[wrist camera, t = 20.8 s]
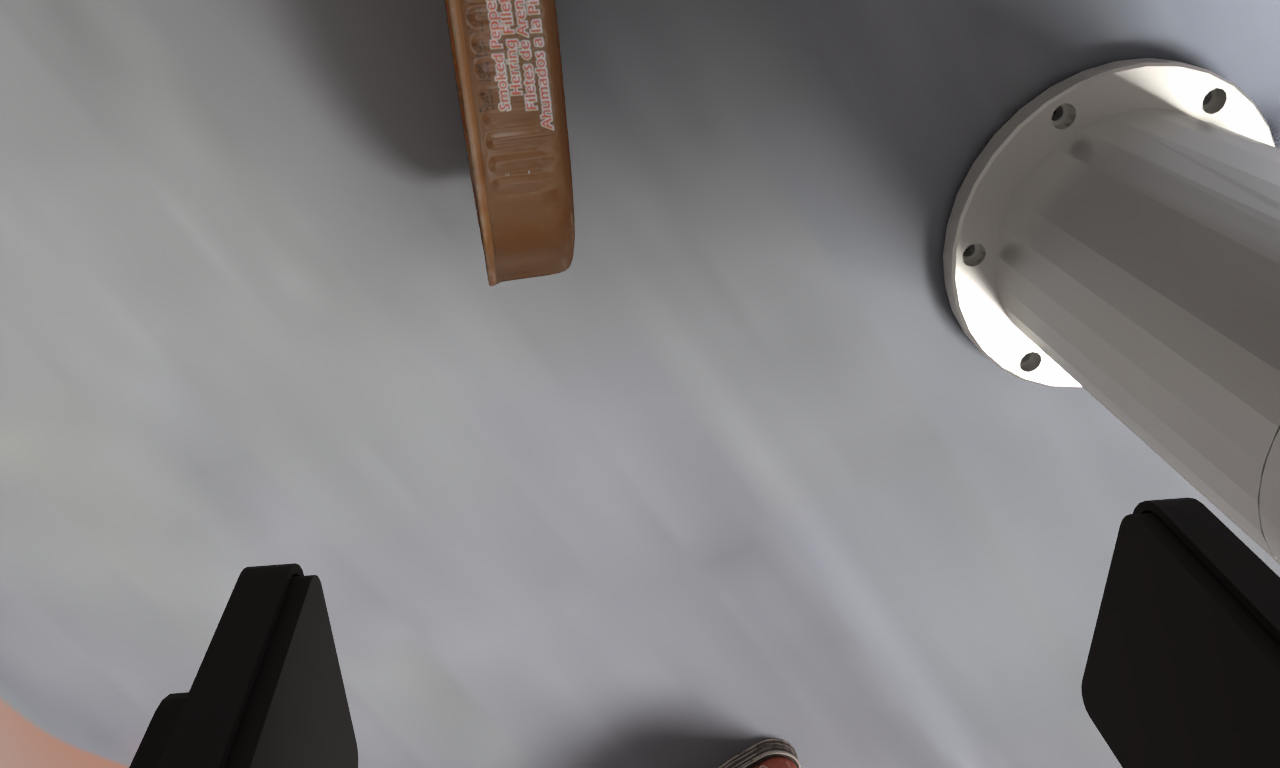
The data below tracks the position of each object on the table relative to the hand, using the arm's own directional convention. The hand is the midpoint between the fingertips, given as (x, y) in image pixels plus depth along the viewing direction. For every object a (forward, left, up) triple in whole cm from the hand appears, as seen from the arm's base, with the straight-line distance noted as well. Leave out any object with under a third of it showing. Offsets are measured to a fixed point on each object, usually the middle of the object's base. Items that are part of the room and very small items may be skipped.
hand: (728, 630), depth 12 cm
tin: (+2, -4, -25) cm, 25 cm away
